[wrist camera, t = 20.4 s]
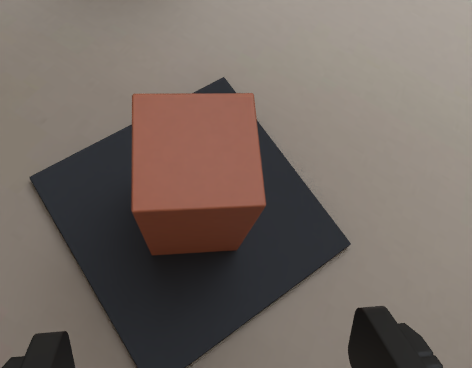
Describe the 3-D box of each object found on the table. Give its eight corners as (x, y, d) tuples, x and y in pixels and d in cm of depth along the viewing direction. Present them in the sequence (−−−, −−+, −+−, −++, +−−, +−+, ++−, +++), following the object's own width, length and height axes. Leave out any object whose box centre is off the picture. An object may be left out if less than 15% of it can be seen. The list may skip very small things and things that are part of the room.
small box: (231, 171, 25) (254, 92, 17) (237, 250, 23) (266, 206, 15) (150, 174, 24) (131, 93, 16) (151, 255, 23) (131, 212, 14)
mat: (348, 245, 25) (351, 243, 24) (152, 391, 21) (151, 392, 20) (223, 80, 28) (224, 76, 27) (31, 180, 24) (28, 177, 23)
